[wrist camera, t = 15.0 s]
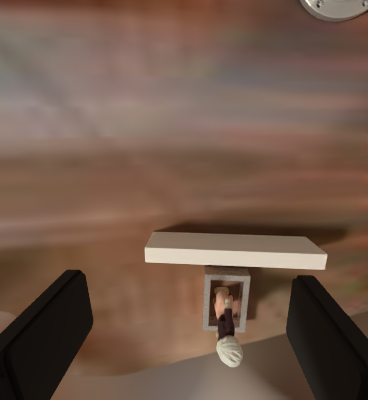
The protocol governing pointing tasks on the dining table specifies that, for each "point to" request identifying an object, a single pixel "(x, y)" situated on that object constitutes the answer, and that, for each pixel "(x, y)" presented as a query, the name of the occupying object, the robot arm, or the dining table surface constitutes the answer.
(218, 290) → the grandmother figurine
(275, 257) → the white long flat block
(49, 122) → the dining table surface
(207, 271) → the grey hollow rectangular frame
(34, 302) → the robot arm
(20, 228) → the dining table surface
